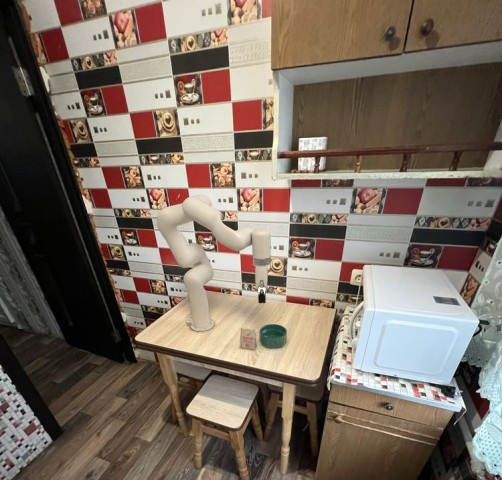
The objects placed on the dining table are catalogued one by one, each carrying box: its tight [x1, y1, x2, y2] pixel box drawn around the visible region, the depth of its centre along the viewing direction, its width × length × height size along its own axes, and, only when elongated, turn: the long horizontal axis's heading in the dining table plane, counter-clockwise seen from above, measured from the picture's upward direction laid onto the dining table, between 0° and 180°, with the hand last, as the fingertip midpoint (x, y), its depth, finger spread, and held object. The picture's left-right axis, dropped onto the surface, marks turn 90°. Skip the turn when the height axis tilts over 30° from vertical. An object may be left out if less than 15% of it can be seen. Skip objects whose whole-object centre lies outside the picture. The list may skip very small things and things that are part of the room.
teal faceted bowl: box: [258, 323, 288, 349], centre depth 133 cm, size 13×13×6 cm
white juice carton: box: [239, 327, 258, 351], centre depth 129 cm, size 4×7×10 cm, turn 73°
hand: (262, 298), depth 124 cm, fingers open, 9 cm apart
